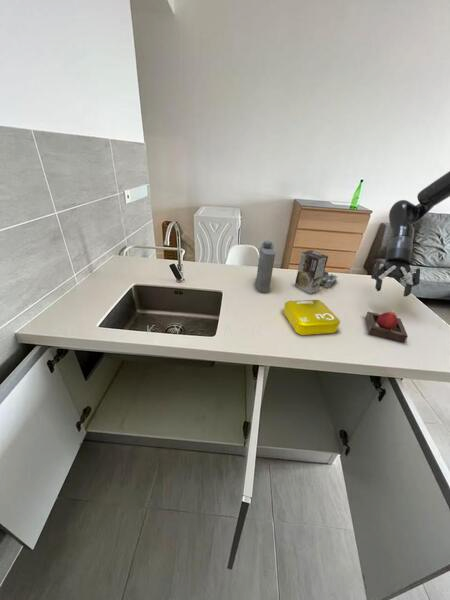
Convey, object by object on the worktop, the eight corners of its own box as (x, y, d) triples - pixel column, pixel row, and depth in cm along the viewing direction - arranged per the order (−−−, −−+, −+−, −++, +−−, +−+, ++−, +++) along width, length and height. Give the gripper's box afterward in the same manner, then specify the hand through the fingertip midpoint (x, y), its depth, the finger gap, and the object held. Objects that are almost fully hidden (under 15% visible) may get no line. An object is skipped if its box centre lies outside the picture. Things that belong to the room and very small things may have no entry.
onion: (375, 332, 84) (384, 313, 79) (372, 323, 88) (381, 304, 84) (394, 336, 82) (404, 317, 78) (390, 327, 87) (400, 308, 83)
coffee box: (319, 290, 108) (329, 256, 99) (309, 294, 104) (319, 259, 96) (303, 282, 114) (311, 249, 106) (293, 285, 111) (301, 251, 102)
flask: (255, 277, 116) (261, 235, 106) (268, 278, 116) (274, 237, 105) (255, 292, 104) (261, 247, 93) (269, 293, 103) (276, 248, 93)
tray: (397, 325, 88) (400, 318, 86) (403, 343, 79) (407, 336, 78) (365, 317, 91) (367, 311, 89) (368, 334, 82) (371, 327, 81)
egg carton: (322, 276, 121) (324, 269, 118) (337, 281, 116) (339, 274, 114) (313, 283, 114) (315, 275, 111) (328, 289, 109) (331, 280, 107)
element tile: (317, 308, 95) (320, 298, 92) (339, 332, 82) (343, 321, 80) (281, 310, 92) (283, 299, 90) (297, 336, 80) (301, 324, 77)
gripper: (381, 243, 87) (373, 285, 84) (427, 250, 83) (421, 294, 80) (373, 253, 94) (366, 291, 91) (416, 259, 90) (410, 300, 87)
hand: (392, 293), depth 85 cm, fingers open, 8 cm apart
